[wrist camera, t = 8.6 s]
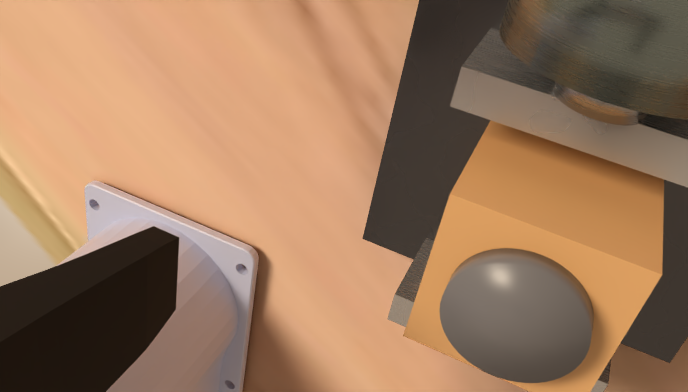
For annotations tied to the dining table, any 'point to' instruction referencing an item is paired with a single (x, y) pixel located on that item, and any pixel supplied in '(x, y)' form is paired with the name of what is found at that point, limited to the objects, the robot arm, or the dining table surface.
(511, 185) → the orange block with dome
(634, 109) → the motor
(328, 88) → the dining table surface
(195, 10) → the dining table surface
